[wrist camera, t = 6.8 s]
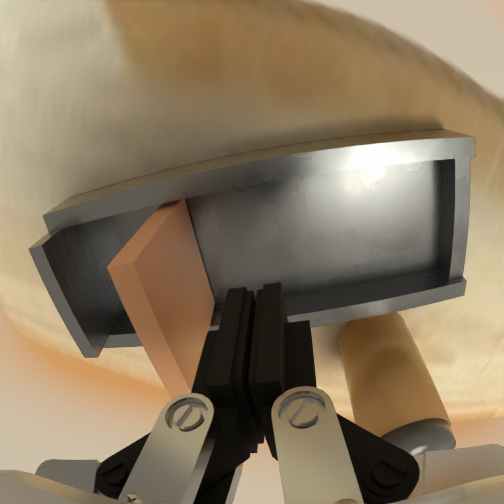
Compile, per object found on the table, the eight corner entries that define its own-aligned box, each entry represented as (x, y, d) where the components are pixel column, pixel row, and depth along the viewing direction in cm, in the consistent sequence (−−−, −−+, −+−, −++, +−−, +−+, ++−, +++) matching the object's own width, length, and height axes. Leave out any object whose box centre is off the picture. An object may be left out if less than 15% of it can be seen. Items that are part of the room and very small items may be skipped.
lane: (445, 129, 15) (499, 144, 10) (443, 270, 18) (479, 315, 14) (69, 197, 17) (21, 230, 13) (119, 319, 21) (92, 369, 16)
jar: (408, 303, 19) (470, 424, 11) (401, 355, 22) (442, 467, 13) (337, 316, 20) (370, 453, 11) (338, 367, 22) (361, 489, 13)
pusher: (184, 195, 16) (133, 262, 9) (215, 302, 18) (194, 398, 12) (165, 199, 16) (106, 266, 10) (198, 304, 19) (172, 399, 12)
